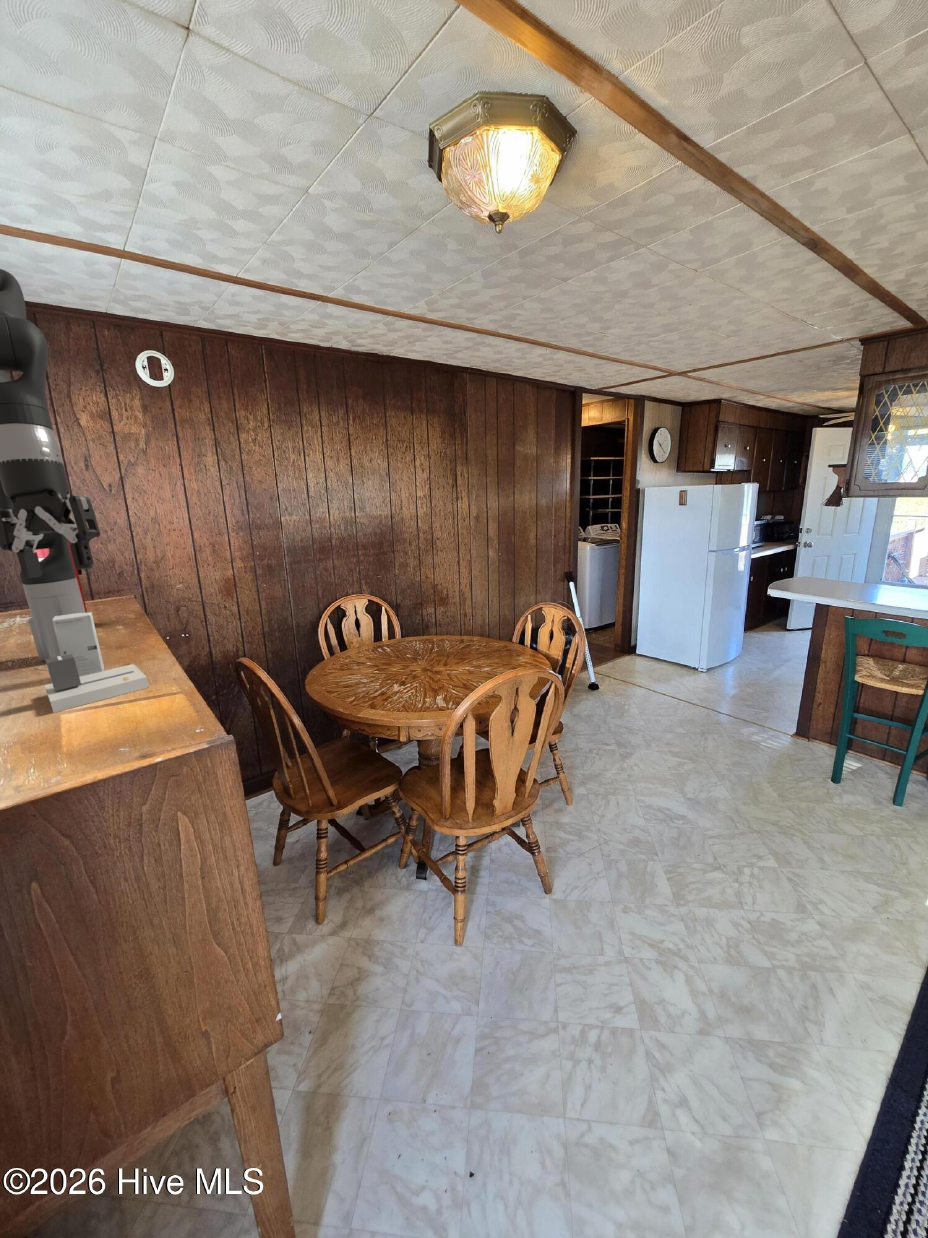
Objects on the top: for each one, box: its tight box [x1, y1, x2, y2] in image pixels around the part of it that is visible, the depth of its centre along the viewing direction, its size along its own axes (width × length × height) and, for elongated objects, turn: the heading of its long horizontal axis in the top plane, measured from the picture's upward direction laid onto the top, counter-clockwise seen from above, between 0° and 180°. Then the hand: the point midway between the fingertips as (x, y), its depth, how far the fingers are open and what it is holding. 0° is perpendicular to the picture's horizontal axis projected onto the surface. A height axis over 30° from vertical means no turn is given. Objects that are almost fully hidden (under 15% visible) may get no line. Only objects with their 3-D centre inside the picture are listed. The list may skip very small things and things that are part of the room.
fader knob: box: [44, 654, 81, 691], centre depth 85 cm, size 4×3×5 cm
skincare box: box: [52, 611, 105, 677], centre depth 97 cm, size 6×4×12 cm
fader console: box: [44, 663, 150, 714], centre depth 88 cm, size 14×11×2 cm
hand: (59, 573), depth 74 cm, fingers open, 8 cm apart
